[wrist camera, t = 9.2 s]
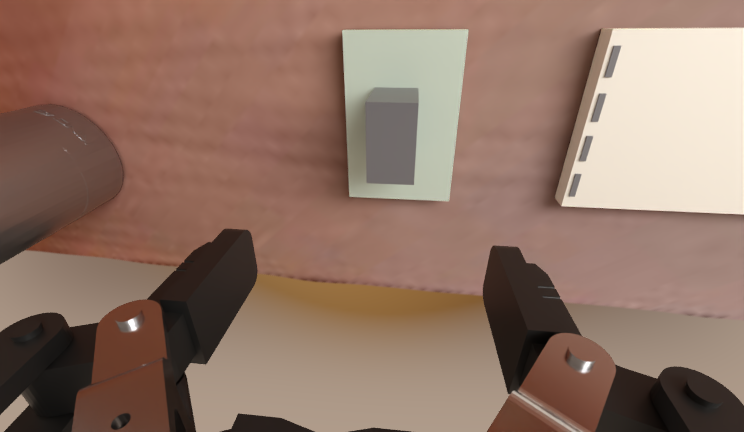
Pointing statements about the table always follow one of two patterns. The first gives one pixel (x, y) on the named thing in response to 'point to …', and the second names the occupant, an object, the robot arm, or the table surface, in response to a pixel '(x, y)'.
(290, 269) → the table surface
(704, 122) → the cream panel
